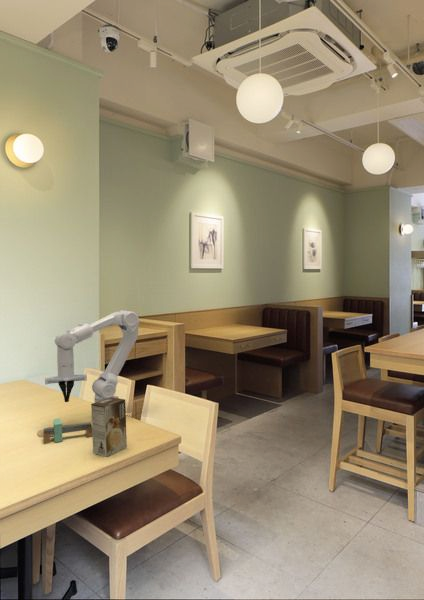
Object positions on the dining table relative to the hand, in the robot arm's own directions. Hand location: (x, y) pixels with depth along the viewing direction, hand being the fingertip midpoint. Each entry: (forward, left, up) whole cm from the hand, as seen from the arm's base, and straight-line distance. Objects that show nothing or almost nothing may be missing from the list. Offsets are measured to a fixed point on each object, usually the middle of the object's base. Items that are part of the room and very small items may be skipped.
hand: (66, 401), depth 160 cm
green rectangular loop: (+4, +11, -10) cm, 15 cm away
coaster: (+6, +3, -10) cm, 12 cm away
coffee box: (-11, +28, -10) cm, 32 cm away
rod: (0, +11, -10) cm, 15 cm away
